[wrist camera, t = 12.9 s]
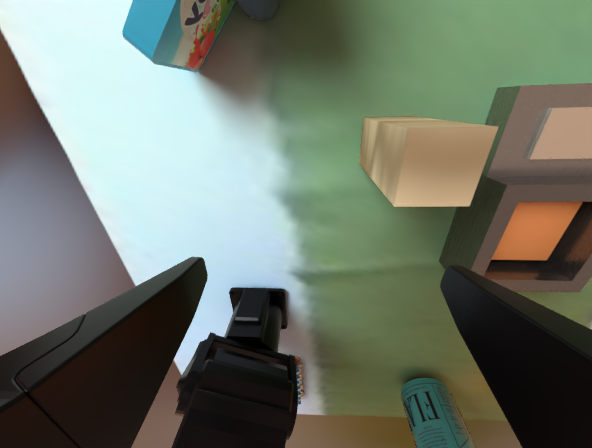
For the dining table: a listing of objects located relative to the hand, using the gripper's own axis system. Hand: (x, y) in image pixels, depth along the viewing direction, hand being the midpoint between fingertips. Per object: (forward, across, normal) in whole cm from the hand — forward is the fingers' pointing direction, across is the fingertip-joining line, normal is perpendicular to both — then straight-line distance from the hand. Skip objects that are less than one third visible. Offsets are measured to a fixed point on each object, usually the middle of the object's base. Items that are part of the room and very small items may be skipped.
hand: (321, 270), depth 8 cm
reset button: (+12, -18, +4) cm, 21 cm away
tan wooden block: (+13, -5, -3) cm, 14 cm away
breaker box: (+12, -18, +1) cm, 22 cm away
